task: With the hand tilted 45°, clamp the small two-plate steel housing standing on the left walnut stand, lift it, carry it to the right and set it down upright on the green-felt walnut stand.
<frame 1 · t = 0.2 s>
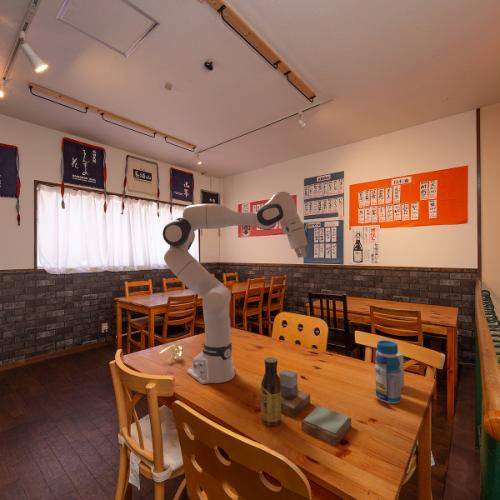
hand: (302, 257, 120), 51 cm above the table, tool tilted 20°, fingers open, 8 cm apart
housing: (288, 395, 97), point 3 cm above the table, touching stand left
small box: (390, 385, 110), on the table
stand left: (288, 404, 97), on the table
beverage bottle: (388, 398, 100), on the table
sauce bottle: (271, 422, 87), on the table
stand right: (326, 428, 84), on the table
shrimp: (174, 361, 138), on the table
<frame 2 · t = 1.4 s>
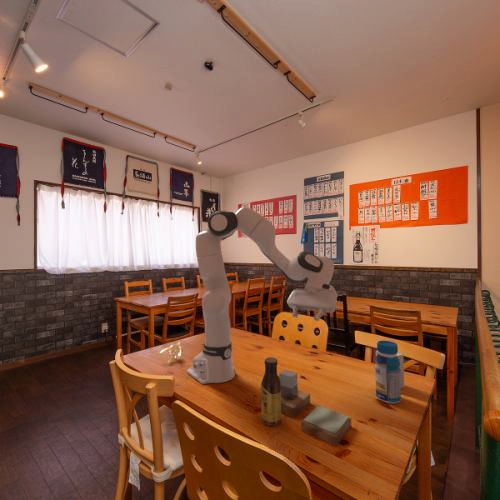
hand: (304, 318, 107), 28 cm above the table, tool tilted 45°, fingers open, 8 cm apart
nothing on the table moved.
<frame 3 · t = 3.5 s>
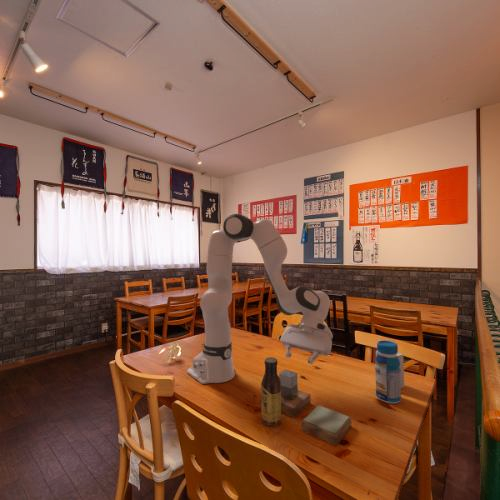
hand: (298, 359, 102), 13 cm above the table, tool tilted 45°, fingers open, 8 cm apart
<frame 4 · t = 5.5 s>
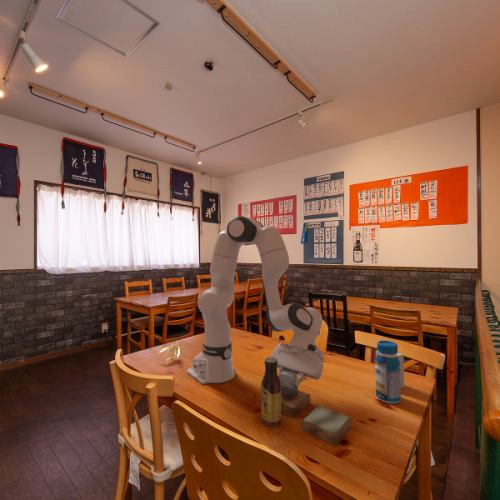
hand: (287, 383, 97), 8 cm above the table, tool tilted 45°, fingers closed on housing, 5 cm apart
housing: (288, 395, 97), point 3 cm above the table, touching gripper, stand left
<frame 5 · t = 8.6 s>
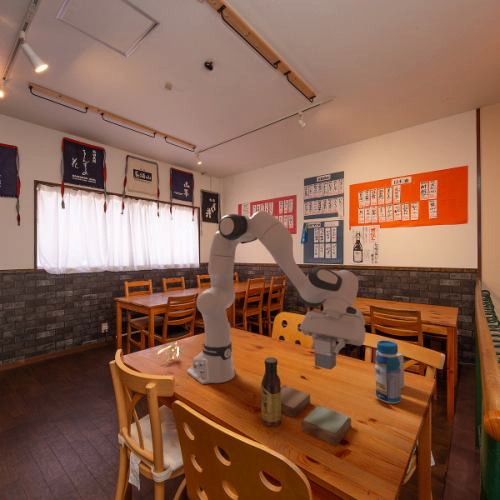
hand: (324, 351, 83), 24 cm above the table, tool tilted 45°, fingers closed on housing, 5 cm apart
housing: (325, 365, 84), point 19 cm above the table, touching gripper
when the fingers open (9 cm above the table, at t = 11.7 s): housing drops 1 cm, resting on stand right.
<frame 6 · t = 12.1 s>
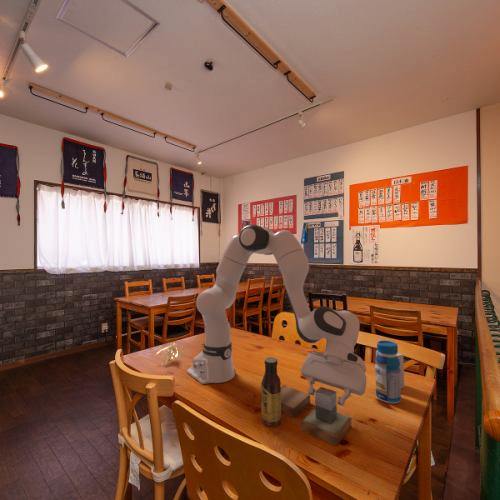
hand: (325, 399, 83), 9 cm above the table, tool tilted 45°, fingers open, 8 cm apart
housing: (326, 418, 84), point 3 cm above the table, touching stand right
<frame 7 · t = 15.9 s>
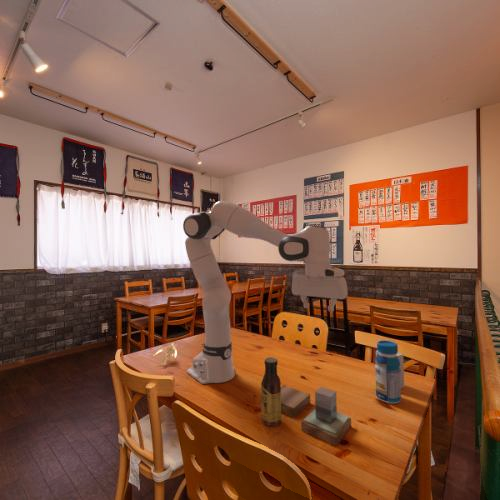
hand: (318, 309, 98), 33 cm above the table, tool pointing down, fingers open, 8 cm apart
at the end: housing inside the target area on the stand right (0.1 cm from its centre), point 3.0 cm above the stand right's base; housing tilted 0°; the gripper is holding nothing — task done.
